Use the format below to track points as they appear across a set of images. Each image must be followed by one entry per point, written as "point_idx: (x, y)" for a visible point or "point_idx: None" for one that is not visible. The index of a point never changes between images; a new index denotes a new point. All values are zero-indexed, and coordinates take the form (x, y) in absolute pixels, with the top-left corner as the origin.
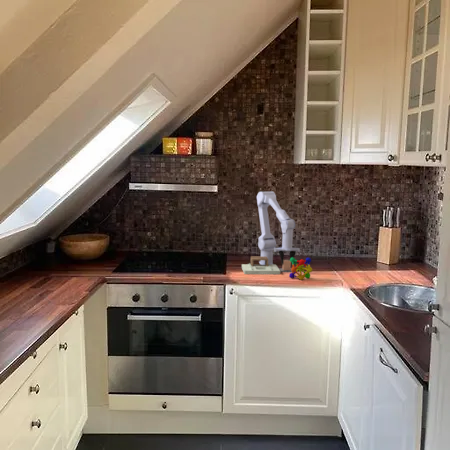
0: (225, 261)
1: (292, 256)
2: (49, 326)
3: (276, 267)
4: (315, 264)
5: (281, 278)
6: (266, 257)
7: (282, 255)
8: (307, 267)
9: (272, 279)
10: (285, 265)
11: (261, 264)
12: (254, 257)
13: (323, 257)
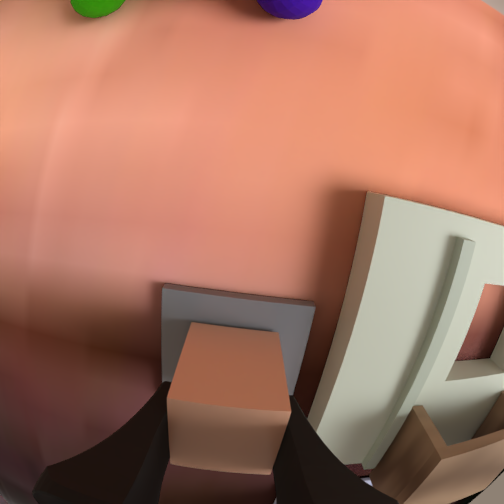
0: None
1: (117, 457)
2: None
3: (354, 374)
4: (7, 439)
5: (401, 23)
6: (409, 501)
7: (339, 490)
8: None
9: (476, 29)
10: (257, 365)
11: None
12: (491, 471)
13: (9, 493)
